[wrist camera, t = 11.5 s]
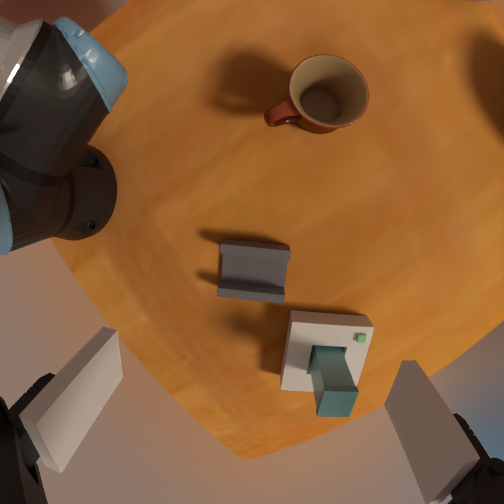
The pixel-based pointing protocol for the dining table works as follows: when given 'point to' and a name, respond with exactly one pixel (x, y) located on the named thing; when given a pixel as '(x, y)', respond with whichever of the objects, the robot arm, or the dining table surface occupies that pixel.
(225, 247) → the grey u-shaped block
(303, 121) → the mug
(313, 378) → the plug
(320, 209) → the dining table surface
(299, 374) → the port
